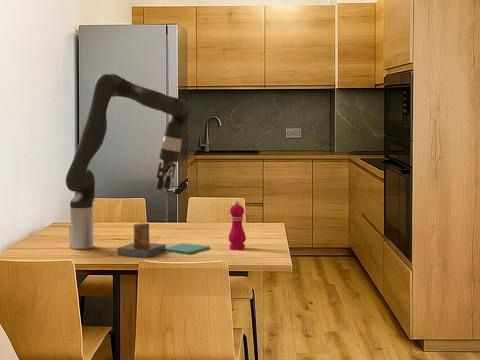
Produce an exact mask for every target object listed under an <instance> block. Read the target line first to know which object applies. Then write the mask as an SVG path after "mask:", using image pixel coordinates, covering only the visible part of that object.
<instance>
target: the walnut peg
mask: <svg viewBox="0 0 480 360" xmlns="http://www.w3.org/2000/svg"><path fill="white" fill-rule="evenodd" d="M133 243H134V247H140V248H145V247H148V246H149V243H150V223H144V222H138V223H135V224H133Z"/></svg>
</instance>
